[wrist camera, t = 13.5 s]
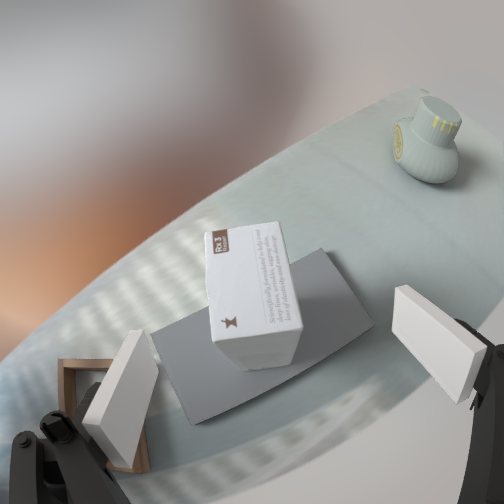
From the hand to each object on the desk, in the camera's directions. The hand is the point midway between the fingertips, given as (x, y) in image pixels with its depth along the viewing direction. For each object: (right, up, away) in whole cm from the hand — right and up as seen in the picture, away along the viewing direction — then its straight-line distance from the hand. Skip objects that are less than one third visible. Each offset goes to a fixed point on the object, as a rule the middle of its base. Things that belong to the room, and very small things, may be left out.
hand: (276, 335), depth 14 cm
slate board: (0, -3, +11) cm, 12 cm away
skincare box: (-1, -3, +10) cm, 11 cm away
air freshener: (+22, +16, +21) cm, 34 cm away
